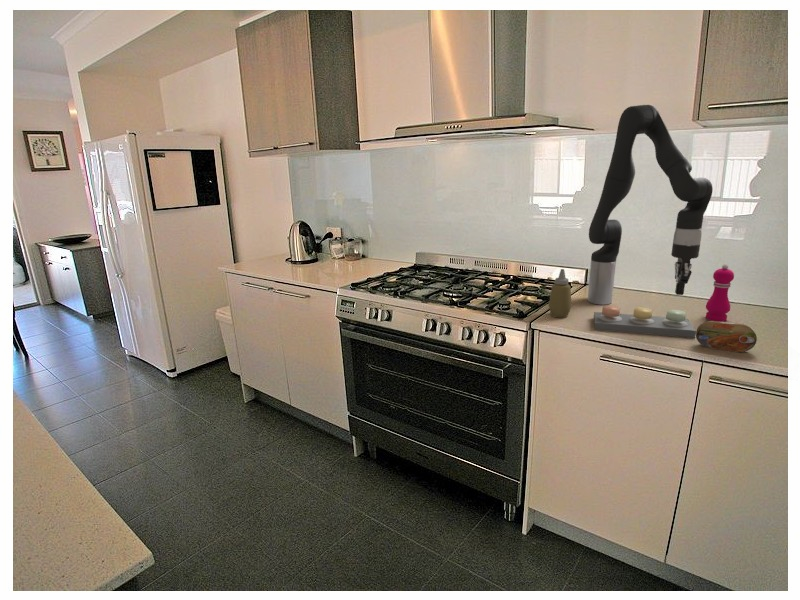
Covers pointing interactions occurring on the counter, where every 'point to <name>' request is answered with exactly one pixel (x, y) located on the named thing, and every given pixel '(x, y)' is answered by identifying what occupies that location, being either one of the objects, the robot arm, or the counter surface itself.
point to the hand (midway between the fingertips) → (679, 294)
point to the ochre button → (642, 313)
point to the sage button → (676, 315)
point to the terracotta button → (610, 311)
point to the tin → (726, 336)
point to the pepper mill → (720, 295)
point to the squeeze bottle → (560, 297)
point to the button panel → (644, 325)
